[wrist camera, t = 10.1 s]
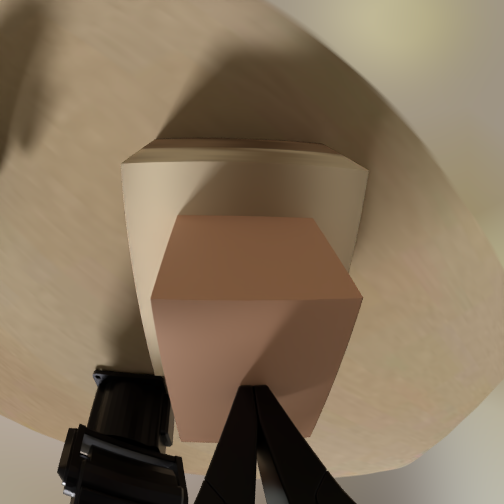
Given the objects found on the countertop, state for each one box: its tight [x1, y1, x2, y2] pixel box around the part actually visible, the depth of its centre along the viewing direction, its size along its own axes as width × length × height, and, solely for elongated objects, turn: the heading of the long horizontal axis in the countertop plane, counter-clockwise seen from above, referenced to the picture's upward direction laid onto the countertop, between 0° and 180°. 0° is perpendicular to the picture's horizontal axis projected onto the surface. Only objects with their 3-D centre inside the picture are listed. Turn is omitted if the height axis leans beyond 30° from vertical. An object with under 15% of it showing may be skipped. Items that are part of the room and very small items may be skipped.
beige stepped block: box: [121, 138, 369, 376], centre depth 16 cm, size 9×11×6 cm
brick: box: [150, 215, 363, 443], centre depth 11 cm, size 5×7×5 cm
